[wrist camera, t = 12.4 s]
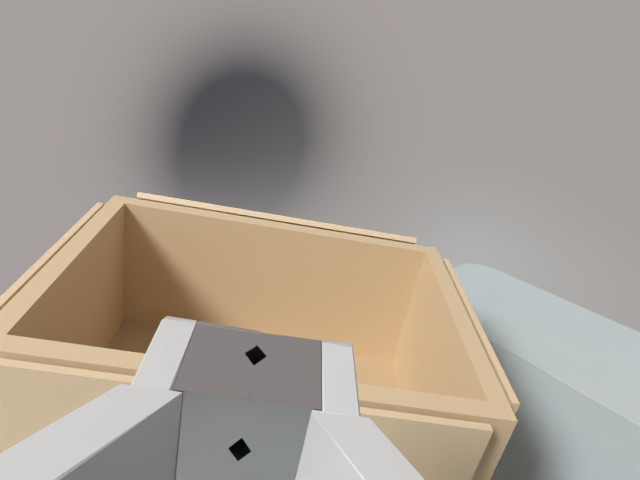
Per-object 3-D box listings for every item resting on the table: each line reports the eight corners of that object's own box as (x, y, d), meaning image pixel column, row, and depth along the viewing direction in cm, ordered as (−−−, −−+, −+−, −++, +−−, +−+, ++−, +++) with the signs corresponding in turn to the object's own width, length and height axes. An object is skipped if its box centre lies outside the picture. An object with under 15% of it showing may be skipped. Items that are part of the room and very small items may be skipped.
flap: (416, 243, 30) (380, 255, 39) (416, 238, 30) (380, 251, 39) (136, 197, 28) (169, 221, 38) (137, 191, 28) (169, 217, 38)
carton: (409, 359, 32) (445, 249, 29) (464, 579, 20) (537, 434, 17) (105, 315, 31) (105, 193, 27) (-32, 525, 19) (-63, 354, 15)
